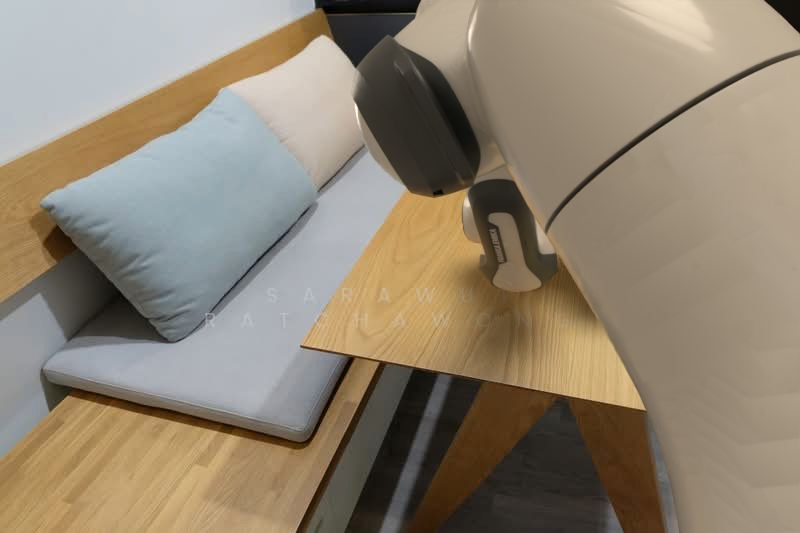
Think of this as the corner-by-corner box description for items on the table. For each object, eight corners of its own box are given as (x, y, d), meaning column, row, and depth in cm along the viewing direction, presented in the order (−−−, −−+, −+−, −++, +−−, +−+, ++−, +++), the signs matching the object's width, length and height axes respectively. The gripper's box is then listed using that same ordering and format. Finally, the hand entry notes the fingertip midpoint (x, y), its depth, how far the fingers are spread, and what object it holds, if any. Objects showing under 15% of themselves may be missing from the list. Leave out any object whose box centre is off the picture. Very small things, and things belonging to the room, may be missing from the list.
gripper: (582, 241, 67) (700, 243, 64) (570, 168, 83) (664, 168, 80) (577, 279, 71) (688, 283, 68) (566, 203, 87) (656, 204, 84)
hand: (675, 220), depth 74 cm, fingers closed on doll, 6 cm apart
